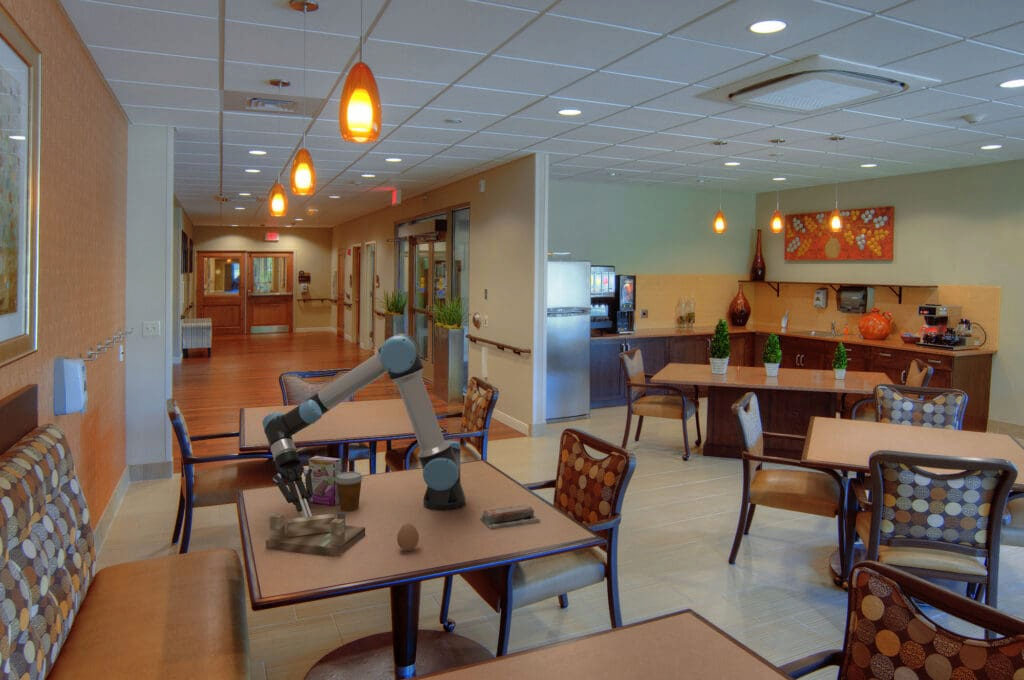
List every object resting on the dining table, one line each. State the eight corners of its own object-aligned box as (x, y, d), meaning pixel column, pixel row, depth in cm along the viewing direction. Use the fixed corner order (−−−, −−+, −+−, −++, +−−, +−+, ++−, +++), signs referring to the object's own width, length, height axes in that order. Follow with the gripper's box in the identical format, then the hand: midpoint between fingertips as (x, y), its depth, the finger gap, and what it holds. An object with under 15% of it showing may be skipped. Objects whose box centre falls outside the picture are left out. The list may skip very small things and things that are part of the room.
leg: (333, 527, 225) (333, 513, 224) (335, 531, 222) (334, 517, 221) (287, 533, 220) (286, 519, 219) (288, 537, 216) (287, 522, 216)
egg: (403, 545, 218) (403, 519, 217) (422, 547, 216) (422, 521, 215) (393, 553, 212) (393, 526, 211) (413, 555, 210) (412, 528, 209)
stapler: (490, 516, 231) (479, 507, 240) (490, 531, 231) (479, 521, 240) (540, 509, 238) (528, 500, 247) (540, 523, 238) (528, 514, 247)
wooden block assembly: (365, 534, 226) (364, 505, 225) (337, 556, 209) (337, 524, 208) (298, 527, 232) (297, 498, 231) (265, 548, 215) (264, 517, 214)
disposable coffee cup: (366, 504, 256) (366, 471, 254) (358, 513, 246) (357, 479, 245) (340, 503, 257) (340, 470, 255) (331, 512, 247) (330, 478, 246)
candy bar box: (308, 503, 257) (307, 458, 255) (316, 499, 261) (315, 455, 260) (335, 506, 253) (334, 461, 251) (342, 502, 258) (341, 458, 256)
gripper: (301, 458, 241) (324, 520, 230) (262, 465, 232) (283, 529, 221) (308, 446, 236) (331, 509, 225) (268, 452, 227) (290, 518, 216)
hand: (307, 519), depth 223 cm, fingers closed
